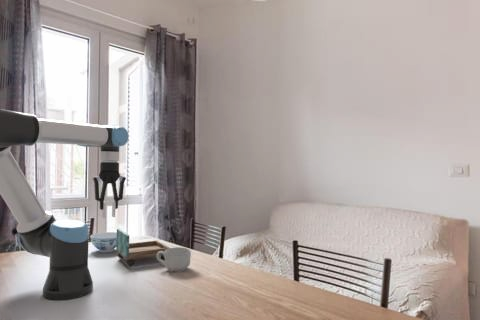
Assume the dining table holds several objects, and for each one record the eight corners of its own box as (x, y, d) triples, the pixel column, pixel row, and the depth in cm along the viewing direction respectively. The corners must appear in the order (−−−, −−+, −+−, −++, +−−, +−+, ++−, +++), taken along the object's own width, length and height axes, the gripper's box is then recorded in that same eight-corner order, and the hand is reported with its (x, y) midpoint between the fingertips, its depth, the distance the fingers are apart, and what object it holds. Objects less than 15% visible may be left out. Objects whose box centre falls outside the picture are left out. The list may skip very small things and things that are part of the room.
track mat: (188, 260, 159) (188, 259, 159) (130, 268, 145) (130, 268, 145) (172, 251, 175) (172, 250, 175) (119, 258, 161) (119, 257, 161)
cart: (169, 261, 155) (170, 231, 155) (126, 267, 145) (126, 235, 145) (156, 252, 169) (157, 225, 169) (116, 257, 159) (116, 228, 159)
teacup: (193, 266, 149) (193, 247, 149) (186, 274, 139) (187, 254, 139) (161, 265, 151) (161, 246, 151) (152, 272, 140) (153, 252, 140)
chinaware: (128, 250, 176) (129, 234, 176) (103, 256, 163) (103, 239, 163) (109, 245, 184) (109, 231, 184) (83, 251, 171) (83, 235, 171)
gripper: (127, 162, 157) (125, 214, 157) (87, 161, 148) (86, 217, 148) (131, 162, 151) (130, 216, 150) (90, 161, 142) (89, 219, 141)
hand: (108, 216), depth 149 cm, fingers open, 3 cm apart
